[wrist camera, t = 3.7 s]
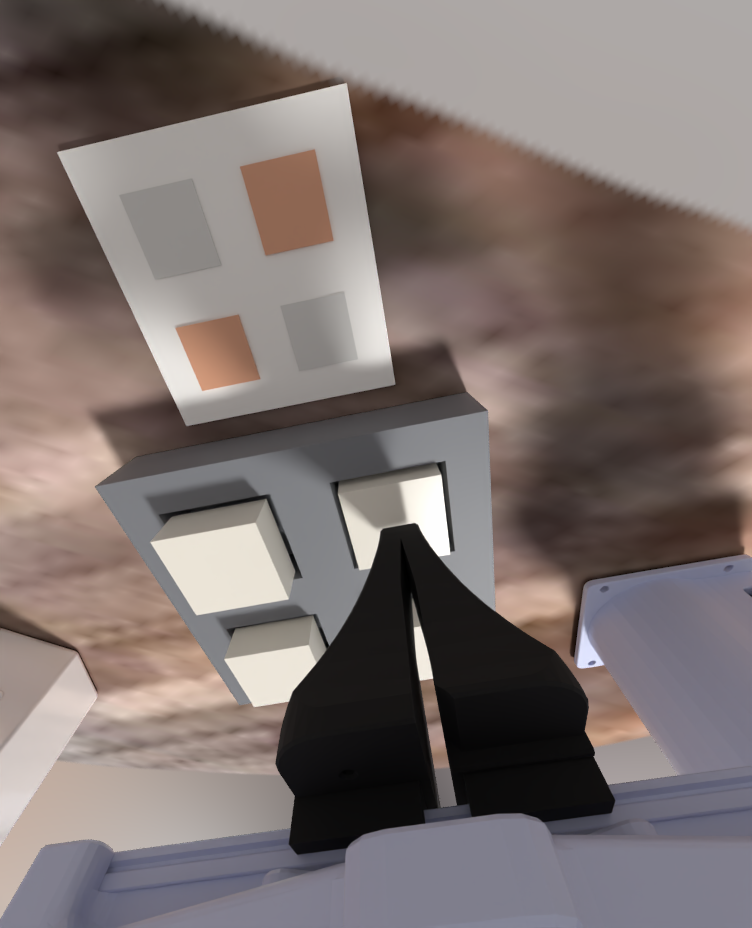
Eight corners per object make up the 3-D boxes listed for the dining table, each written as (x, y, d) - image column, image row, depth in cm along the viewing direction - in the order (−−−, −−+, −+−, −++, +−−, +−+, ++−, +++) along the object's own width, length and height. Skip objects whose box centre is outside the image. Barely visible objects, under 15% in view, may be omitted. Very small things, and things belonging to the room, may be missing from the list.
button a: (432, 456, 14) (441, 474, 13) (442, 531, 16) (450, 554, 15) (340, 474, 14) (337, 493, 13) (359, 546, 16) (359, 570, 15)
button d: (312, 615, 17) (308, 645, 15) (332, 663, 19) (330, 694, 17) (235, 628, 17) (223, 659, 15) (262, 675, 19) (254, 707, 17)
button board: (467, 392, 14) (487, 410, 12) (482, 623, 21) (497, 663, 19) (135, 457, 15) (94, 486, 13) (252, 661, 22) (239, 705, 20)
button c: (266, 498, 14) (255, 522, 12) (295, 571, 15) (288, 599, 14) (171, 516, 14) (150, 542, 12) (211, 586, 16) (196, 615, 14)
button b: (452, 591, 16) (461, 619, 15) (458, 643, 18) (467, 673, 17) (371, 605, 17) (373, 634, 15) (385, 655, 18) (388, 685, 17)
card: (347, 88, 10) (346, 80, 10) (394, 382, 14) (395, 385, 14) (64, 155, 10) (54, 151, 10) (189, 423, 15) (185, 426, 14)
